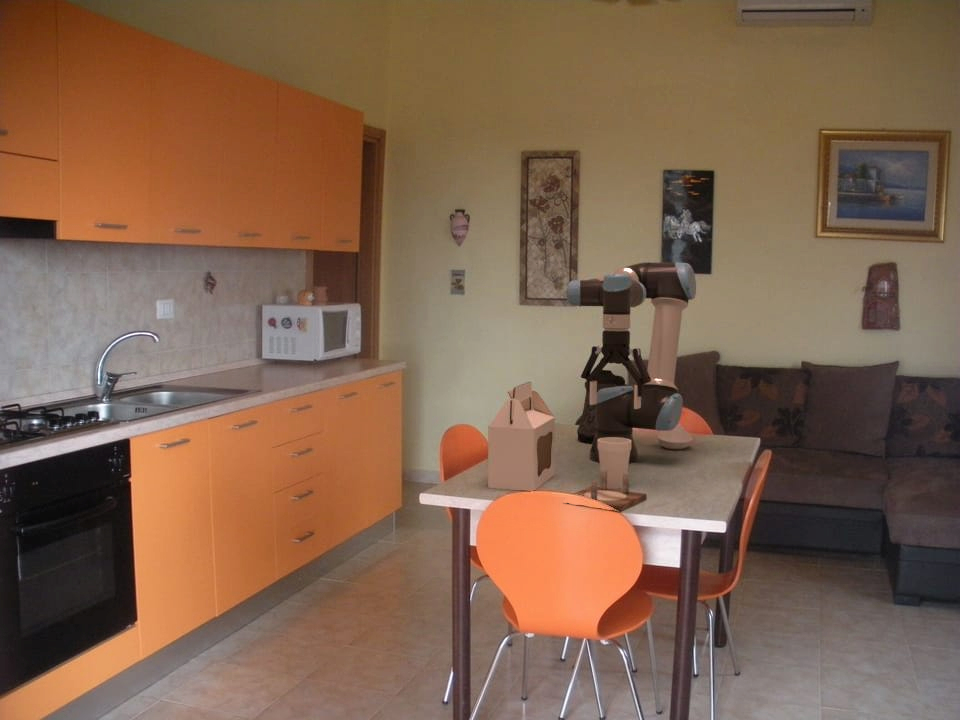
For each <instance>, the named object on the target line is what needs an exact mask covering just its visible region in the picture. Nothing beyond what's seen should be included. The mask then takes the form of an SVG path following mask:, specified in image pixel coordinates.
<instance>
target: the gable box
mask: <svg viewBox="0 0 960 720" xmlns="http://www.w3.org/2000/svg"><path fill="white" fill-rule="evenodd" d="M507 393H508V395H509V398H508V399H507V400H506V401H505V402H504V403H503V405H502V406H501V408H500V409H499V410H498V412H497V414H496V415H495V416H494V418H493V420H492V421H491V423H490V424H489V425H488V426H487V427H488V430H487V440H488V441H487V442H488V443H487V488H488V489H494V490H495V489H496V490H506V491H507V490H508V491H518V490H535V491H536V490H537V489H539V488H540V487H541V486H542V485H544V484H545V483H546V482H548V481H549V480H551V478H553V477H554V476H555V441H556V440H555V435H556V434H555V429H556V428H555V424H556V423H555V422H556V420H555V419H556V416H554V415H553V414H552V411H551V410H550V409H549V407H548V406H547V405H546V403H545V401H544V400H543V398H542V397H541V395H540V394H539V393H538V392H537V391H535V390H533V384H532V381H527V382H525V383H522V384H520V385H517V386H515V387H513V389H511V390H509V391H507Z"/></svg>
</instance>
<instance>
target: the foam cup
mask: <svg viewBox="0 0 960 720" xmlns="http://www.w3.org/2000/svg"><path fill="white" fill-rule="evenodd" d="M597 449H598V452H599V461H600V462H599V468H600V469H599V470H600V472H601V471H607V488H610V489H611V488H612V489H617V490H621V489H623V474H628V468H629V463H630V462H629V456H630V450H631V440H630V439H626V438H618V437H606V438H600V439H598V444H597Z"/></svg>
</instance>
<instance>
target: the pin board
mask: <svg viewBox="0 0 960 720" xmlns="http://www.w3.org/2000/svg"><path fill="white" fill-rule="evenodd" d="M600 475H601V476H600V477H601V479H600V486H598V480H591V481H590V486H589V487H586V488H584V489H580V490H578V491H576V492H574V493H572V494H578V495H582V496H586V497H590V498H592V499H595V500H598V501H601V502H603V503H605V504H607V505H609V506H611V507H613V508H614V509H616V510H618V511H619V512H618V513H621V512H624V511H626V510H627V509H629V508H631V507H634V506H636V505H638V504H640V503H642V502H644V501H647V493H642V492H636V491H630V490H629V487H630V486H629V485H630V484H629V483H630V482H629V481H630V474H629V473H627V474H623V488H621V489H611V488H607V471H601V470H600Z"/></svg>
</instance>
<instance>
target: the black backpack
mask: <svg viewBox="0 0 960 720" xmlns="http://www.w3.org/2000/svg"><path fill="white" fill-rule="evenodd" d="M593 381H597V392H598V391H599V390H600V389H603V388H609V387H617V386H630V385H629V384H626V379H625V378H624V377H623V376H621V375H617V374H614V373H613V372H612V370H608V369H602V371H601V372H600V373H599V374H598V375H597V377H596V378H595V380H593ZM584 388H585V397H584V403H583V411H582V415H581V419H580V423H579V426H578V428H577V431H576V433H577V441H578V442H579V443H583V444H588V445H592V444H593V441H594V438H595V435H596V404H593V405H590V392H588V391H587V380H585V382H584Z"/></svg>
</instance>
